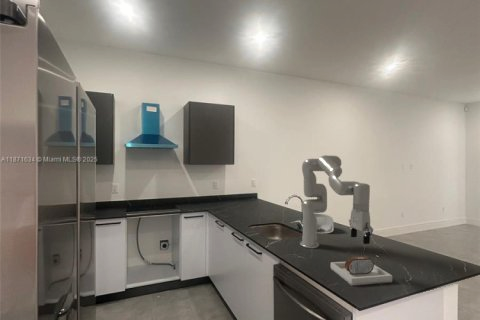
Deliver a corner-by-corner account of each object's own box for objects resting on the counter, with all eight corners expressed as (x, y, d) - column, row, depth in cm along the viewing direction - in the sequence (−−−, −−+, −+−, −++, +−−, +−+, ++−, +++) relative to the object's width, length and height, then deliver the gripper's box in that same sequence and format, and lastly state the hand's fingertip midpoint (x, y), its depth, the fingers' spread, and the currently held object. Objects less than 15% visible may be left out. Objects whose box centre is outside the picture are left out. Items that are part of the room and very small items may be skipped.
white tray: (330, 268, 131) (330, 262, 131) (366, 265, 135) (366, 260, 135) (351, 285, 113) (351, 278, 113) (392, 282, 117) (392, 275, 117)
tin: (370, 271, 127) (370, 255, 127) (374, 273, 124) (375, 257, 124) (344, 272, 124) (344, 256, 124) (348, 275, 121) (348, 259, 121)
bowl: (328, 227, 212) (329, 214, 212) (333, 234, 193) (334, 219, 193) (305, 226, 215) (305, 213, 215) (308, 232, 196) (308, 218, 196)
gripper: (344, 204, 132) (343, 235, 132) (366, 211, 115) (364, 246, 115) (356, 203, 133) (355, 234, 134) (379, 211, 116) (378, 246, 117)
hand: (359, 240), depth 125 cm, fingers open, 9 cm apart
